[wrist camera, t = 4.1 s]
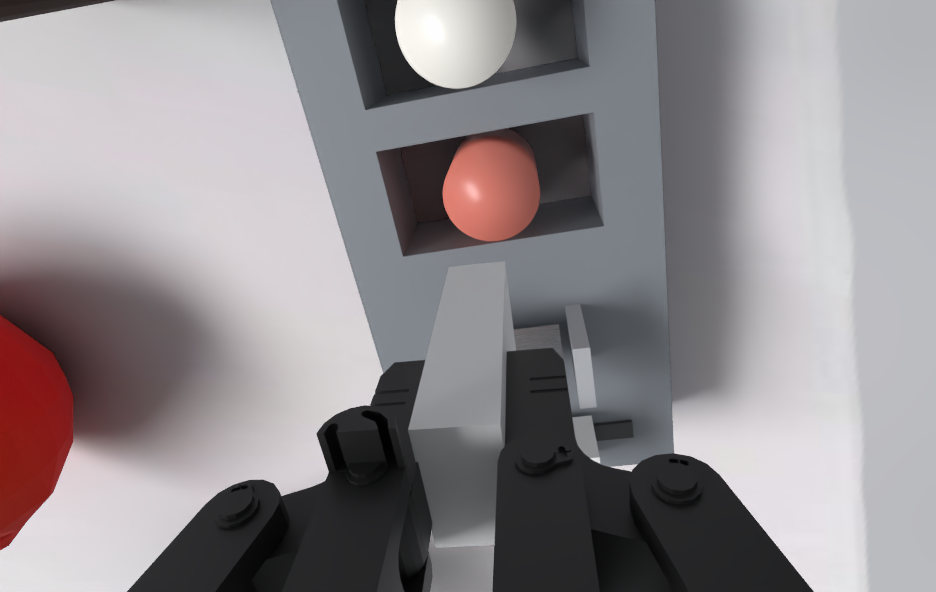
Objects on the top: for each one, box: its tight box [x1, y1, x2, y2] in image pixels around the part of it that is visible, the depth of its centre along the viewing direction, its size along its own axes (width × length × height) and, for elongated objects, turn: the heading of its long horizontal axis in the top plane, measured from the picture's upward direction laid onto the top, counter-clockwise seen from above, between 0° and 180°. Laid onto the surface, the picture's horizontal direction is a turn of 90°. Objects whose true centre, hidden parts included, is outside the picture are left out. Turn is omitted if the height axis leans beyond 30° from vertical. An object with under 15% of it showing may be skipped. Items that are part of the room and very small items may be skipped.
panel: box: [271, 0, 674, 467], centre depth 26 cm, size 26×14×8 cm, turn 11°
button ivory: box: [395, 0, 516, 89], centre depth 21 cm, size 4×4×4 cm
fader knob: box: [572, 415, 600, 463], centre depth 28 cm, size 3×2×3 cm
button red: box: [443, 128, 540, 241], centre depth 25 cm, size 4×4×4 cm
